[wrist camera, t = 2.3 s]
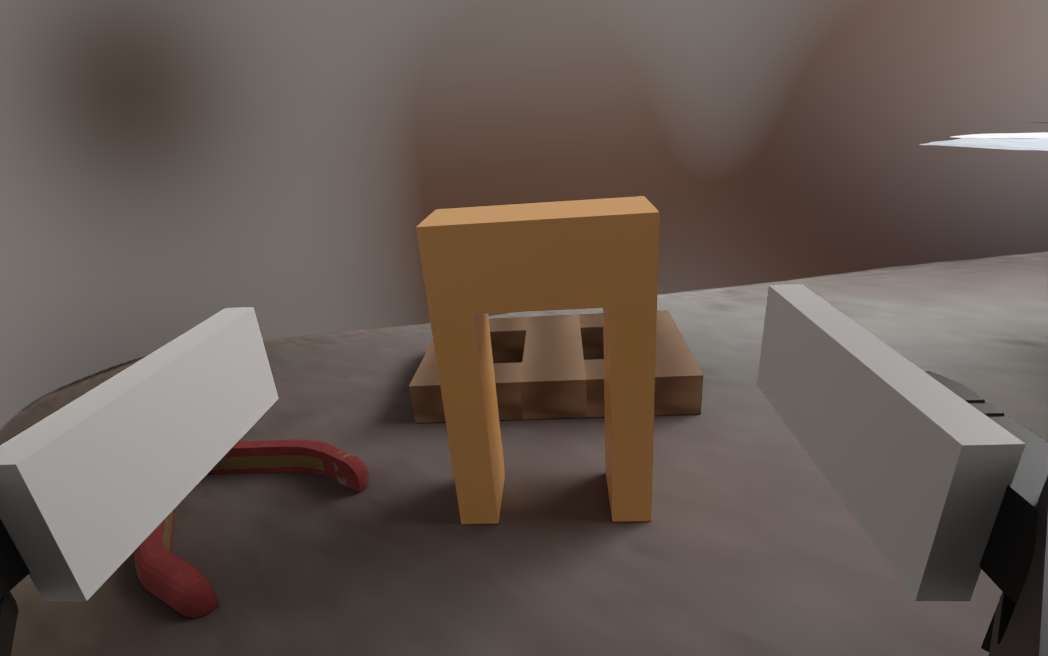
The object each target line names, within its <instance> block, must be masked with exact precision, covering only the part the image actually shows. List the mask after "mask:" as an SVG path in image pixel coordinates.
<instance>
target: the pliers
mask: <svg viewBox="0 0 1048 656" xmlns="http://www.w3.org/2000/svg"><path fill="white" fill-rule="evenodd" d="M265 472H309V473H315V474H320V475H323V476H326V477H328V478H330V479H332V480H334V481H336V482H339V483H341V484H343V485H345V486H347V487H349V488H351V489H353V490H355V491H357V492H359V493H360V492H362V491H363V490H364V489H365V488H366V486H367V484H368V470H367V468H366V466H365V464H364V463H363V462H362V461H361V460H360V459H359V458H358V457H356V456H354V455H351V454H349V453H347V452H345V451H343V450H341V449H338V448H336V447H334V446H332V445H330V444H327V443H323V442H319V441H311V440H268V441H240V442H237V443H236V444H235V445H234V446H233V447H232V448H231V449H230V450H229V451H228V453H227V454H226V455H225V456H224V457H223V458H222V459H221V460H220V461H219V462H218V463H217V464H216V465H215V466H214V467H213V468H212V469H211V471H210V472H209V473H208V474H235V473H265ZM174 516H175V509H174V510H173V511H172V512H171V513H170V514H169V515H168V516H167V517H166V518H165V519H164V520H163V521H162V522H161V523H160V524H159V525H158V526H157V528H156V529H155V530H154V531H153V532H152V533H151V534H150V535H149V536H148V537H147V538H146V539H145V540H144V541H143V542H142V543H141V544H140V545H139V547H138V548H137V549H136V550H135V551H134V562H135V568H136V573H137V576H138V578H139V580H140V582H141V584H142V585H143V587H144V588H145V589H146V590H147V591H148V592H150V593H151V594H153V595H154V596H156V597H157V598H159V599H160V600H162V601H163V602H165V603H166V604H168V605H169V606H170V607H172V608H173V609H175V610H176V611H178V612H179V613H180V614H182V615H184V616H187V617H192V618H195V617H201V616H204V615H206V614H208V613H210V612H211V611H213V610H214V609H215V608H216V607H218V606H219V603H218V600H217V597H216V595H215V592H214V590H213V588H212V587H211V585H210V583H209V582H208V581H207V579H206V578H205V577H204V576H203V575H202V574H201V573H200V572H199V571H198V570H197V569H196V568H195V567H193V566H192V565H190V564H188V563H187V562H185V561H184V560H182V559H180V558H179V557H177V556H175V555H174V554H172V553H171V546H172V536H173V526H174Z"/></svg>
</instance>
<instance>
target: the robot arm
mask: <svg viewBox="0 0 1048 656" xmlns="http://www.w3.org/2000/svg"><path fill="white" fill-rule="evenodd" d="M757 385H758V387H759V388H760V390H761V391H762V392H763V394H764V395H765V396H766V398H767V399H768V401H769V402H770V403H771V405H772V406H773V407H774V409H775V410H776V411H777V413H778V414H779V416H780V417H781V418H782V420H783V421H784V422H785V424H786V425H787V426H788V428H789V429H790V431H791V432H792V433H793V435H794V436H795V437H796V439H797V440H798V441H799V443H800V444H801V446H802V447H803V448H804V450H805V451H806V452H807V454H808V455H809V456H810V458H811V459H812V461H813V462H814V463H815V465H816V466H817V467H818V469H819V470H820V471H821V473H822V474H823V476H824V477H825V478H826V480H827V481H828V482H829V484H830V485H831V486H832V488H833V489H834V491H835V492H836V493H837V495H838V496H839V497H840V499H841V500H842V501H843V503H844V504H845V506H846V507H847V508H848V510H849V511H850V512H851V514H852V515H853V517H854V518H855V519H856V521H857V522H858V523H859V525H860V526H861V527H862V529H863V530H864V532H865V533H866V534H867V536H868V537H869V538H870V540H871V541H872V542H873V544H874V545H875V547H876V548H877V549H878V551H879V552H880V553H881V555H882V556H883V557H884V559H885V560H886V562H887V563H888V564H889V566H890V567H891V568H892V570H893V571H894V572H895V574H896V575H897V577H898V578H899V579H900V581H901V582H902V583H903V585H904V586H905V587H906V589H907V590H908V592H909V593H910V594H911V596H912V597H913V598H914V600H915V601H970V599H971V596H972V594H973V591H974V588H975V585H976V582H977V580H978V577H979V574H980V571H981V569H982V570H983V571H984V572H985V573H986V574H987V575H988V576H989V577H990V578H991V579H992V581H993V582H994V583H995V584H996V585H997V586H998V587H999V588H1000V589H1001V590H1002V591H1003V592H1002V595H1001V597H1000V600H999V603H998V605H997V608H996V610H995V613H994V616H993V618H992V621H991V623H990V626H989V629H988V631H987V634H986V636H985V639H984V642H983V644H982V647H981V648H982V649H984V650H986V651H988V652H989V656H1048V443H1047V442H1046V441H1044V440H1043V439H1041V438H1040V437H1039V436H1037V435H1036V434H1034V433H1033V432H1031V431H1030V430H1028V429H1027V428H1025V427H1024V426H1022V425H1021V424H1019V423H1018V422H1016V421H1015V420H1013V419H1012V418H1011V417H1005V416H1004V413H1003V412H1002V411H1000V410H999V409H997V408H996V407H994V406H993V405H991V404H990V403H985V402H984V401H985V400H984V399H982V398H981V397H980V396H978V395H977V394H975V393H974V392H972V391H971V390H969V389H968V388H966V387H965V386H963V385H962V384H960V383H957V382H955V381H952V380H950V379H948V378H945V377H943V376H940V375H938V374H936V373H933V372H931V371H928V372H924V371H923V370H921V369H920V368H919V367H917V366H916V365H914V364H913V363H912V362H910V361H909V360H907V359H906V358H905V357H903V356H902V355H900V354H899V353H898V352H896V351H895V350H893V349H892V348H891V347H889V346H888V345H886V344H885V343H883V342H882V341H881V340H879V339H878V338H876V337H875V336H874V335H872V334H871V333H869V332H868V331H867V330H865V329H864V328H862V327H861V326H860V325H858V324H857V323H855V322H854V321H853V320H851V319H850V318H848V317H847V316H846V315H844V314H843V313H841V312H840V311H839V310H837V309H836V308H834V307H833V306H832V305H830V304H829V303H827V302H826V301H825V300H823V299H822V298H820V297H819V296H818V295H816V294H815V293H813V292H812V291H810V290H809V289H808V288H806V287H805V286H803V285H802V284H790V285H769V289H768V297H767V306H766V314H765V322H764V331H763V339H762V347H761V356H760V364H759V373H758V381H757ZM278 399H279V398H278V395H277V391H276V387H275V384H274V380H273V377H272V373H271V369H270V366H269V362H268V358H267V355H266V351H265V347H264V344H263V340H262V336H261V333H260V329H259V326H258V322H257V318H256V315H255V311H254V308H253V307H243V308H225V309H223V310H222V311H220V312H218V313H217V314H215V315H214V316H212V317H210V318H209V319H207V320H206V321H204V322H202V323H200V324H199V325H197V326H195V327H194V328H192V329H191V330H189V331H188V332H186V333H184V334H183V335H181V336H179V337H178V338H176V339H174V340H173V341H171V342H169V343H168V344H166V345H164V346H163V347H161V348H159V349H158V350H156V351H155V352H153V353H151V354H150V355H148V356H146V357H145V358H143V359H141V360H140V361H138V362H136V363H135V364H133V365H132V366H130V367H128V368H127V369H125V370H123V371H122V372H120V373H118V374H117V375H115V376H114V377H112V378H110V379H109V380H107V381H105V382H104V383H102V384H100V385H99V386H97V387H95V388H94V389H92V390H91V391H89V392H87V393H86V394H84V395H82V396H81V397H79V398H77V399H76V400H74V401H73V402H71V403H69V404H68V405H66V406H64V407H63V408H61V409H59V410H58V411H56V412H55V413H53V414H51V415H50V416H48V417H46V418H45V419H43V420H41V421H40V422H38V423H36V424H35V425H33V426H32V427H30V428H28V429H27V430H25V431H23V432H22V433H20V434H18V435H17V436H15V437H14V438H12V439H10V440H9V441H7V442H5V443H4V444H2V445H0V656H11V650H12V644H13V639H14V633H15V627H16V621H17V615H18V607H17V603H16V601H15V599H14V597H13V596H12V594H11V592H10V590H11V589H12V588H13V587H14V586H16V585H17V584H18V583H19V582H20V581H21V580H22V579H23V578H25V577H26V576H27V575H28V574H29V575H30V577H31V579H32V581H33V582H34V584H35V586H36V588H37V589H38V591H39V593H40V595H41V597H42V598H43V600H44V601H87V600H88V599H89V598H90V597H91V596H92V595H93V594H94V593H95V592H96V591H97V590H98V589H99V588H100V587H101V586H102V585H103V583H104V582H105V581H106V580H107V579H108V578H109V577H110V576H111V575H112V574H113V573H114V572H115V571H116V570H117V569H118V568H119V567H120V566H121V564H122V563H123V562H124V561H125V560H126V559H127V558H128V557H129V556H130V555H131V554H132V553H133V552H134V551H135V550H136V549H137V548H138V547H139V545H140V544H141V543H142V542H143V541H144V540H145V539H146V538H147V537H148V536H149V535H150V534H151V533H152V532H153V531H154V530H155V529H156V528H157V526H158V525H159V524H160V523H161V522H162V521H163V520H164V519H165V518H166V517H167V516H168V515H169V514H170V513H171V512H172V511H173V510H174V509H175V507H176V506H177V505H178V504H179V503H180V502H181V501H182V500H183V499H184V498H185V497H186V496H187V495H188V494H189V493H190V492H191V491H192V490H193V488H194V487H195V486H196V485H197V484H198V483H199V482H200V481H201V480H202V479H203V478H204V477H205V476H206V475H207V474H208V473H209V472H210V471H211V469H212V468H213V467H214V466H215V465H216V464H217V463H218V462H219V461H220V460H221V459H222V458H223V457H224V456H225V455H226V454H227V453H228V451H229V450H230V449H231V448H232V447H233V446H234V445H235V444H236V443H237V442H238V441H239V440H240V439H241V438H242V437H243V436H244V435H245V434H246V432H247V431H248V430H249V429H250V428H251V427H252V426H253V425H254V424H255V423H256V422H257V421H258V420H259V419H260V418H261V417H262V416H263V415H264V413H265V412H266V411H267V410H268V409H269V408H270V407H271V406H272V405H273V404H274V403H275V402H276V401H277V400H278Z"/></svg>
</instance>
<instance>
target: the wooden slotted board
mask: <svg viewBox="0 0 1048 656" xmlns="http://www.w3.org/2000/svg"><path fill="white" fill-rule="evenodd" d="M489 328H490V338H491V347H492V357H493V366H494V376H495V385H496V395H497V404H498V413H499V420H526V419H558V418H589V417H605V402H604V336H603V313H599V314H578V315H557V316H536V317H514V318H493V319H489ZM702 387H703V374H702V372H701V370H700V368H699V366H698V365H697V363H696V361H695V359H694V357H693V355H692V354H691V352H690V350H689V348H688V346H687V344H686V343H685V341H684V339H683V337H682V335H681V333H680V332H679V330H678V328H677V326H676V324H675V322H674V321H673V319H672V317H671V315H670V313H669V311H668V310H663V311H657V319H656V356H655V393H654V415H684V414H701V402H702ZM409 391H410V396H411V402H412V408H413V413H414V419H415V423H432V422H446V420H445V413H444V407H443V400H442V394H441V387H440V380H439V374H438V367H437V361H436V354H435V348H434V341H433V340H432V342H431V344H430V346H429V348H428V350H427V352H426V354H425V356H424V358H423V360H422V362H421V363H420V365H419V367H418V369H417V371H416V373H415V375H414V377H413V379H412V381H411V383H410V385H409Z"/></svg>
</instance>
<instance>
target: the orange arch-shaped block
mask: <svg viewBox="0 0 1048 656" xmlns="http://www.w3.org/2000/svg"><path fill="white" fill-rule="evenodd" d="M416 229H417V236H418V242H419V248H420V256H421V261H422V269H423V275H424V281H425V288H426V295H427V301H428V308H429V314H430V321H431V328H432V334H433V341H434V348H435V354H436V361H437V367H438V374H439V380H440V387H441V394H442V400H443V407H444V413H445V420H446V427H447V433H448V440H449V446H450V453H451V459H452V466H453V473H454V479H455V486H456V492H457V499H458V505H459V512H460V519H461V524H498V523H499V516H500V508H501V501H502V494H503V486H504V479H505V470H504V461H503V451H502V442H501V432H500V423H499V413H498V404H497V395H496V385H495V376H494V366H493V357H492V347H491V338H490V328H489V319H488V313H500V312H501V313H502V312H523V311H544V310H565V309H586V308H603V336H604V402H605V467H606V479H607V487H608V494H609V501H610V509H611V516H612V522H628V521H651V505H652V468H653V431H654V393H655V356H656V319H657V282H658V281H657V280H658V244H659V212H658V211H657V209H656V208H655V207H654V206H653V205H652V204H651V203H650V202H649V201H648V200H647V199H646V198H645V197H644V196H639V197H625V198H607V199H593V200H577V201H560V202H546V203H529V204H514V205H498V206H483V207H468V208H453V209H436V210H435V211H434V212H433V213H431V214H430V215H429V216H428V217H427V218H426V219H425V220H424V221H422V222H421V223H420V224H419V225H418V226H417V227H416Z"/></svg>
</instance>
